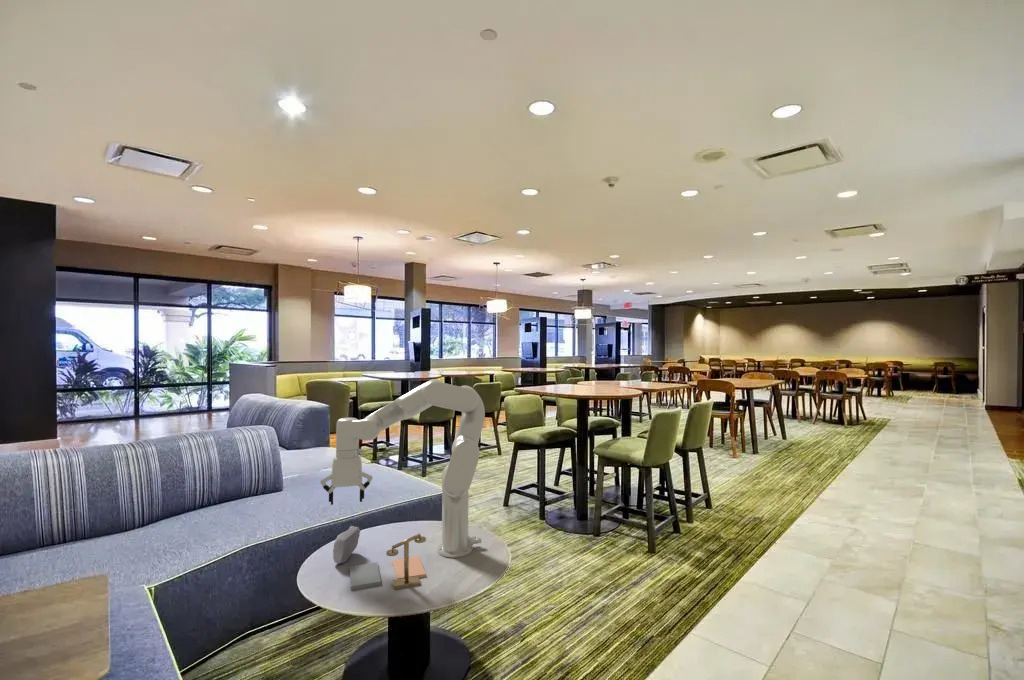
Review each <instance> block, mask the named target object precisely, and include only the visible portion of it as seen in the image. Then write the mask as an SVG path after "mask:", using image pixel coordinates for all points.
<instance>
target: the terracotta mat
mask: <svg viewBox="0 0 1024 680" xmlns="http://www.w3.org/2000/svg"><path fill="white" fill-rule="evenodd" d="M392 567H393V571H394V574H395V578H396V579H402V578H404V557H403V558H396V559H392ZM414 576H418V577H419V579H420V578H427V577H426V576H427V574H426V571H425V569H424V565H423V563H422V561H421V557H420V556H419V555H414V556H409V577H414ZM396 579H395V580H396Z"/></svg>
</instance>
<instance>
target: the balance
mask: <svg viewBox="0 0 1024 680" xmlns="http://www.w3.org/2000/svg"><path fill="white" fill-rule="evenodd" d="M412 541H414V542H415V543H417V544H421V543H422V544H423V543H425V542H426V541H427V537H426V536H422V535H421V533H418V534H415V535H413V536H411V537H408V538H407V539H405V540H401V541H400V542H398V543H396V544H394V545H391V549H388V550H386V551H385V552H386V553H385V554H386V556H388V557H395V556H398V555H399V550H398V548H399V547H401V546H403V558H404V578H402V579H393V580H392V587H393V590H394V591H395V590H399V589H404V588H410V587H416V586H420V585H421V579H420V578H419V577H418V576H414V577H409V557H410V556H409V554H410V553H409V552H410V547H409V546H410V545H409V544H410V542H412ZM396 548H397V549H396Z"/></svg>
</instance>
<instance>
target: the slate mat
mask: <svg viewBox="0 0 1024 680" xmlns="http://www.w3.org/2000/svg"><path fill="white" fill-rule="evenodd" d="M349 582H350V591H353V590H358V589H359V590H360V589H366V588H370V587H376V586H382V578H381V574H380V569H379V563H378V561H376V562H369V563H364V564H356V565H350V566H349Z"/></svg>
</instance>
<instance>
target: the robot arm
mask: <svg viewBox="0 0 1024 680" xmlns="http://www.w3.org/2000/svg"><path fill="white" fill-rule="evenodd" d="M432 406H434V407H437V408H438V407H439V408H442V409H448V410H453V411H458V412H461V418H460V421H459V425H458V429H457V432H456V435H455V437H454V440H453V443H452V445H451V455H450V459H449V462H448V464H447V465H446V466H445V467H444V468H443V470H442V472H441V473H442V474H441V497H442V498H441V505H442V506H441V509H442V510H441V544H439V546H438V547H437V553H438V555H440V556H442V557H444V558H445V557H446V558H449V559H450V558H451V559H452V558H453V559H454V558H462V557H465V556H467V555H470V553H472V552H473V548H474V547H473V545H475V544H482V537H476V536H470V535H469V508H470V507H469V506H470V505H469V490H470V488H471V486H472V482H473V480H474V476H475V472H476V470H477V466H478V463H479V459H480V453H481V452H480V447H479V441H480V438H481V435H482V431H483V428H484V423H485V416H486V413H485V412H486V411H485V405H484V401H483V400H482V398H481V396H480V394H479V393H478V392H477V391H476V390H475V388H473V387H471V386H469V385H467V384H466V385H464V384H463V385H461V386H459V385H454V384H450V383H446V382H443V381H441V380H439V379H437V378H433V379H430V380H428V381H426V382H424V383H422V384H421V385H418V386H417V387H415V388H413V389H411V390H410V391H409V392H406V393H405V394H403V395H401V396H399V397H397V398H395V400H393V401H392V402H389V403H388V404H386V405H384V406H383V407H380V408H379V409H378V410H376V411H374V412H372V413H370V414H368V415H367V416H365V417H364V418H363V419H358V418H356V417H342V418H339V419H337V421H336V430H335V431H336V434H335V436H336V438H335V439H336V440H335V441H336V443H335V456H334V457H333V460H332V463H331V464H332V466H331V467H332V468H331V474H328V475H327V476H325V477H324V478H322V479H321V480H320V484H321V486H322V488H323V489H324V490H325V491H326V492H327V493H328V503H330V506H332V505H334V491H335V489H336V488H346V487H348V488H349V487H358V488H359V502H360V503H362V502H363V499H365V490H366V489H367V488H368V487H369V486H370V483H371V482H372V480H373V479H374V478H373V476H372V475H371V474H369V473H366V472H365V471H363V465H362V457H361V455H360V454H363V453H364V451H363V450H364V449H362V448H360V447H359V446H360V445H359V443H360V440H361V441H372V440H375V439H376V438H377V437H378V436H379V434H380V433H381V432H382V431H384V430H386V429H388V428H389V427H391V426H393V425H394V424H397V423H399V422H401V421H404V420H409V419H412V418H414V417H415V416H417V415H419V414H420V413H422V412H424V411H426V410H427V409H429V408H431V407H432ZM363 478H365V479H366V481H365V482H364V483H363ZM330 480H331V485H328V484H327V483H326V482H328V481H330Z"/></svg>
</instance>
